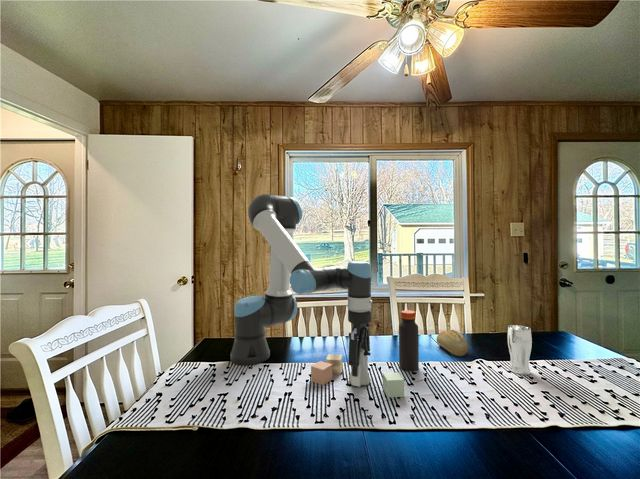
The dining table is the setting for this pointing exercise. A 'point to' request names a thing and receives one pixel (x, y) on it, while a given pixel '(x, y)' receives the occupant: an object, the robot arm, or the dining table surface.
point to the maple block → (335, 363)
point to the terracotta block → (321, 372)
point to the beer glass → (519, 348)
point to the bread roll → (453, 342)
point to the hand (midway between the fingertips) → (359, 380)
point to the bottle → (408, 342)
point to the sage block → (393, 384)
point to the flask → (362, 370)
